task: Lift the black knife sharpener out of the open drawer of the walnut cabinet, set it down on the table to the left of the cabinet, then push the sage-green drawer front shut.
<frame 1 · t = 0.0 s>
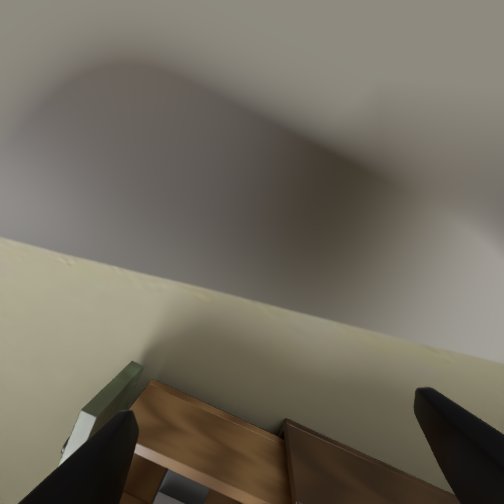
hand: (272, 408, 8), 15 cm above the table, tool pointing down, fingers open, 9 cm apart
drawer: (174, 489, 21), point 4 cm above the table, slide at 14.0 cm, touching knife sharpener
knife sharpener: (188, 466, 23), point 2 cm above the table, touching drawer
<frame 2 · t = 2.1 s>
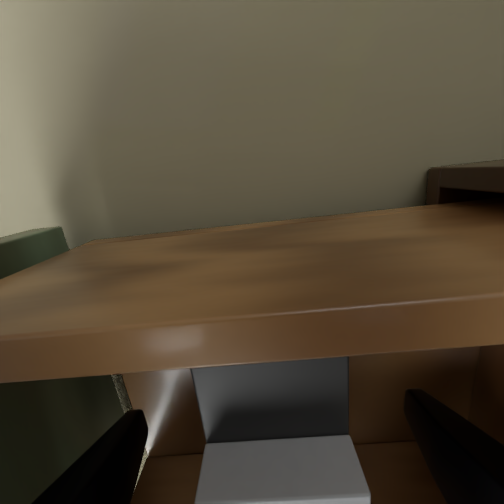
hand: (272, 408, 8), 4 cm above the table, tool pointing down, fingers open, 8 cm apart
drawer: (259, 415, 8), point 4 cm above the table, slide at 14.0 cm, touching knife sharpener
knife sharpener: (271, 362, 10), point 2 cm above the table, touching drawer
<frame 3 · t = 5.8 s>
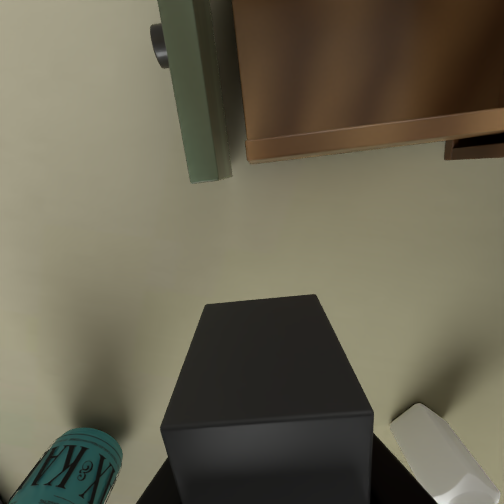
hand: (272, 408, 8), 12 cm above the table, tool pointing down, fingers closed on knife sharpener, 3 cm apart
salt shaker: (414, 418, 24), on the table
drawer: (361, 18, 11), point 4 cm above the table, slide at 14.0 cm
knife sharpener: (270, 389, 9), point 11 cm above the table, touching gripper
beverage bottle: (100, 433, 25), on the table
when the fingers open (1 cm above the table, at t = 8.8 s): knife sharpener stays where it is, on the table.
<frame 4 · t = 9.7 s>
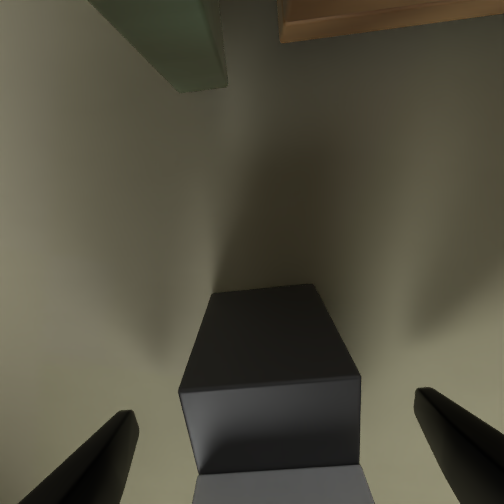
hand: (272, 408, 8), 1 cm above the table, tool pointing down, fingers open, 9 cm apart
knife sharpener: (271, 373, 10), on the table
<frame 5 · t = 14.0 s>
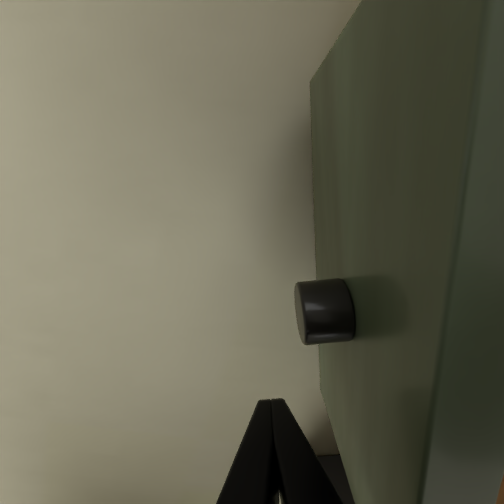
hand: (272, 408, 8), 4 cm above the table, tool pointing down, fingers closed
knife sharpener: (327, 497, 15), on the table
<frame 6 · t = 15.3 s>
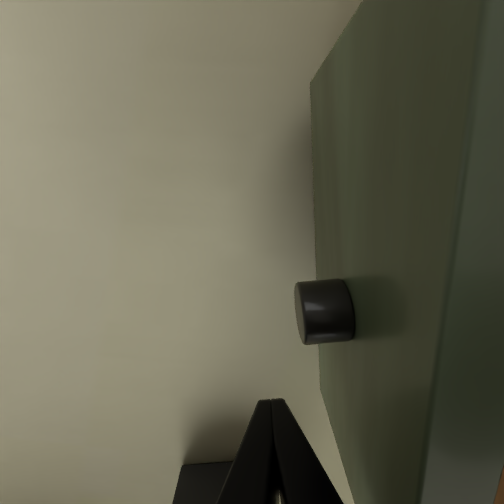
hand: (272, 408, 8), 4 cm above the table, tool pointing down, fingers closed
knife sharpener: (220, 503, 16), on the table
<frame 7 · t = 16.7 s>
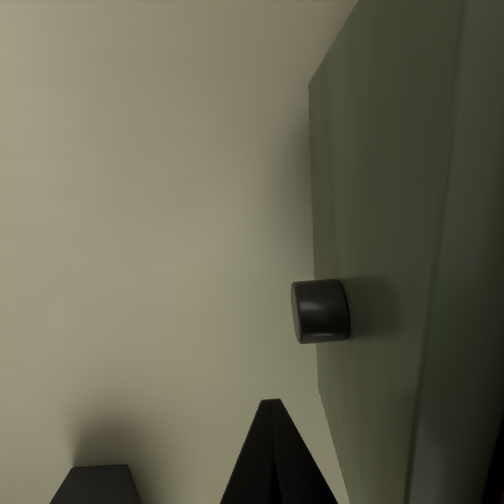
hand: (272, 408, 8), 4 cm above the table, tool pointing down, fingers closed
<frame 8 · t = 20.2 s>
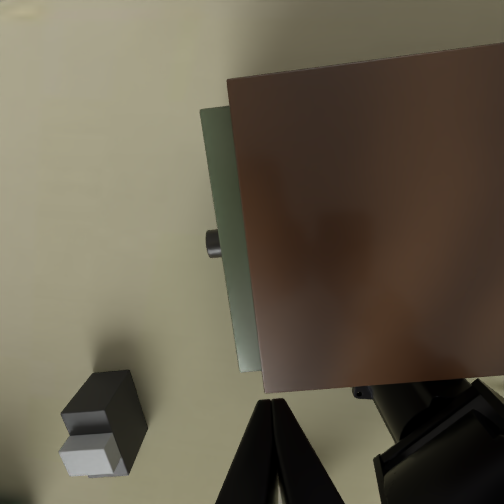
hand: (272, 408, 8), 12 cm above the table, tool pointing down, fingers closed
salt shaker: (281, 496, 28), on the table
drawer: (374, 227, 14), point 4 cm above the table, slide at 0.0 cm
knife sharpener: (121, 401, 24), on the table
cabinet: (381, 211, 18), on the table
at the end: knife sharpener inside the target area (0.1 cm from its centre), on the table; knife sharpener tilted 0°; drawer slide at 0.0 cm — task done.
